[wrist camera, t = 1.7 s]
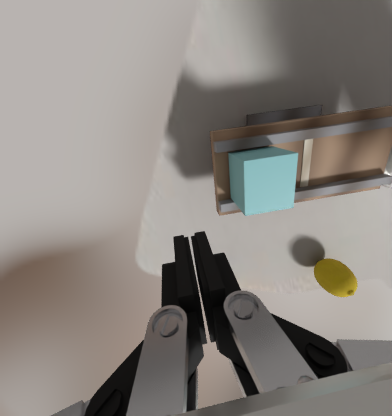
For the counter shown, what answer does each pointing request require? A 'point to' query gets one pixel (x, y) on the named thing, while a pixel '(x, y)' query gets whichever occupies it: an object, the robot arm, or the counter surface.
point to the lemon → (335, 277)
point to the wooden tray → (312, 150)
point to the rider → (263, 179)
